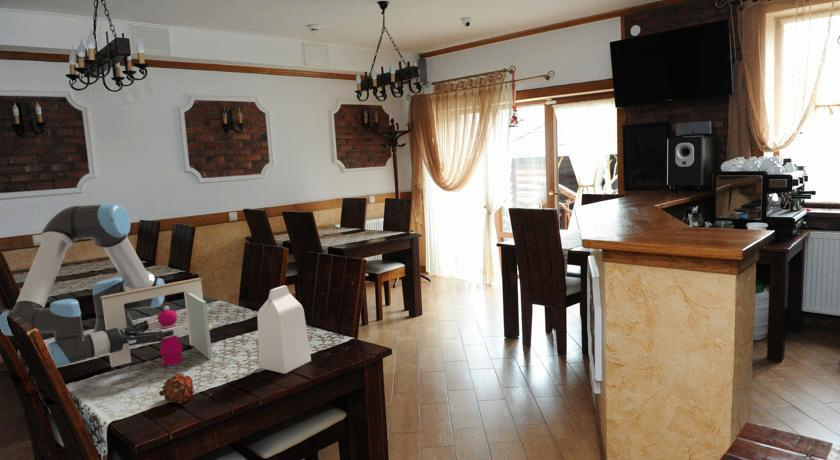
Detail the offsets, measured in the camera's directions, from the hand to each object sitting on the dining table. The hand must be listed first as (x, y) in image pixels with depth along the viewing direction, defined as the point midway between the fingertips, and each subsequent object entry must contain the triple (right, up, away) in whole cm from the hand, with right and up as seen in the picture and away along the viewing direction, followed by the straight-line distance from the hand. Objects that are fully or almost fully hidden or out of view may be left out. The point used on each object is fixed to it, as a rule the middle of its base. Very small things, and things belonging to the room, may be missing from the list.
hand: (175, 325), depth 191 cm
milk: (+40, -12, -7) cm, 42 cm away
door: (+6, -11, +9) cm, 15 cm away
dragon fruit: (+15, -16, -31) cm, 38 cm away
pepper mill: (-1, -13, 0) cm, 13 cm away
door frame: (-9, -12, +10) cm, 18 cm away
